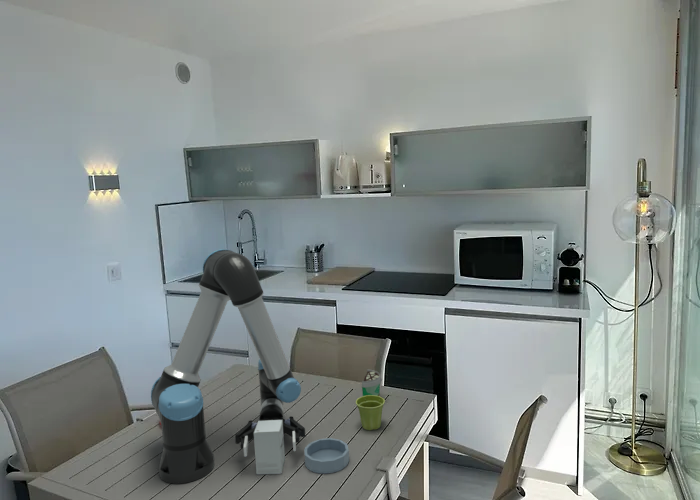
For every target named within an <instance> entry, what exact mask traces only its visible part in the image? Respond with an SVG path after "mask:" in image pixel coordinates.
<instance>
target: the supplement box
mask: <svg viewBox="0 0 700 500" xmlns="http://www.w3.org/2000/svg"><path fill="white" fill-rule="evenodd" d="M257 422H258V423H257ZM257 422H256V423H257V425H256V428H255V431H254V439H253V445H254V458H255V459H254V460H255V472H256V473H255V474H256V475H279V474H282V473H283V469H284V464H285V461H286V456H285V455H286V453H285V439H284V437H285V436H284V433H283V420H266V421H259V420H258V421H257Z"/></svg>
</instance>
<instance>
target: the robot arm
mask: <svg viewBox="0 0 700 500" xmlns="http://www.w3.org/2000/svg"><path fill="white" fill-rule="evenodd" d="M252 263H253V262H251V261H250V259H248V257H246V256H245V255H243V254H241V253H239V252H235V251H233V250H231V249H226V248H225V249H223V248H222V249H217V250H215V251H212V252H210V253H209V254H208V255H207V256H206V258H205V259H204V262H203V264H202V272H203V274H202V275H201V278H200V281H199V283H198V286H199V290H200V294H199V297H198V298H197V302H196V304H195V306H194V309H193V311H192V313H191V316H190V319H189V320H188V323H187V326H186V328H185V330H184V332H183V336H182V337H181V338H182V339H181V341H180V343H179V344H178V348H177V350H176V352H175V355H174V357H173V360H172V362H171V364H169V365H168V366H166V367H164V369H163V371H162V373H161V375H160V376H159V377H158V378H157V379H156V380H155V381H154V383H153V385H152V387H151V391H150V400H151V401H150V402H151V405H152V407H153V408H154V410H155V412H156V415H157V416H158V419H159V422H160V421H161V426H160V428H161V435H162V446H163V448H162V453H161V457H160V461H159V465H158V472H159V478H160V479H161V480H162V481H163V482H166V483H169V484H174V485H175V484H176V485H177V484H179V485H180V484H187V483H190V482H194V481H198V480H199V479H201V478H204V477H205V476H207V475H208V474H209V473H210V472H211V471H212V470H213V469H214V467H215V455H214V453H213V451H212V449H211V446H210V445H209V442H208V440H207V437H206V435H207V434H206V424H205V411H204V397H203V394H202V391H201V389H200V388H199V386H200V384H201V381H202V379H201V376H200V374H199V372H200V370H201V369H202V365H203V362H204V361H205V359H206V355H207V353H208V351H209V348H210V346H211V343H212V341H213V338H214V336H215V333H216V331H217V329H218V326H219V323H220V322H221V318H222V315H223V313H224V311H225V309H226V305H227V304H228V302H229V301H231V304H232V306H234V307H236V308H238V311H239V314H240V315H241V319H242V320H243V323H244V325H245V328H246V330H247V332H248V335H249V337H250V339H251V342H252V344H253V347H254V349H255V351H256V354H257V356H258V358H259V359H258V361H257V363H258V364H257V366H258V369H257V370H258V380H259V394H260V397H259V398H260V408H259V419H258V421H266V420H283V434H285V435H287V436H290V437H292V448H293V452H296V451H297V443H300V441H301V440H300V437H301V438H304V437H306V427H304V426H303V425H301V424H300V422H298V421H296V419H295V418H294V416H289V417H288V419H286V418H284V403H287V404H288V403H289V404H291V403H293V402H295V401H296V400H297V399H298V398H299V397H300V395H301V392H302V386H301V384H300V383H299V381H298V379H296V378H295V376H294V375H293V372H292V370H291V367H290V365H289V362H288V359H287V357H286V355H285V353H284V349H283V347H282V344H281V342H280V339H279V338H278V335H277V331H276V329H275V327H274V325H273V322H272V320H271V317H270V314H269V312H268V309H267V307H266V305H265V302H264V299H263V295H264V289H263V288H262V285H261V282H260V279H259V277H258V275H257V273H256V270H255V267H254V265H253V264H252ZM258 421H256V422H253V420H251V419H250V420H248V421H247V423H246V425H244V426H243V428H242V429H240V430H239V431H238V432H237V433H236V434H235V436H234V437H235V444H236V445H239V444H240V448H241V449H243V457H247V456H248V451H249V442H251V441H252V440H254V431H255V428H256V425H257V423H258Z"/></svg>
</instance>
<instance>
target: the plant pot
mask: <svg viewBox="0 0 700 500" xmlns="http://www.w3.org/2000/svg"><path fill="white" fill-rule="evenodd" d="M385 403H386V400H385V398H383V397H381V396H380V395H379V396H375V395H367V396H363V395H362V396H360V397H357V398H356V400H355V405H356V406H357V409H358V413H359V417H360V423H361V426H362V428H363V429H364V430H366V431H372V430H378V429H379V428H380V427H381V424H382V414H383V408H384V405H385Z"/></svg>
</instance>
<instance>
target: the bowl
mask: <svg viewBox="0 0 700 500" xmlns="http://www.w3.org/2000/svg"><path fill="white" fill-rule="evenodd" d="M348 445H349V444H348V443H347V442H345V441H343V440H341V439H337V438H334V437H327V438H326V437H325V438H319V439H315V440H313V441H311V442H309V443H308V444H307V445H306V446H305V447H304V448H303V451H304V465H305V467H306V469H307V470H309V471H310V472H312V473H315V474H324V475H326V474H333V473H337V472H339V471H342V470H343V469H345V468H346V467H347V466H348V465H349V463H350V451H349V446H348Z"/></svg>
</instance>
